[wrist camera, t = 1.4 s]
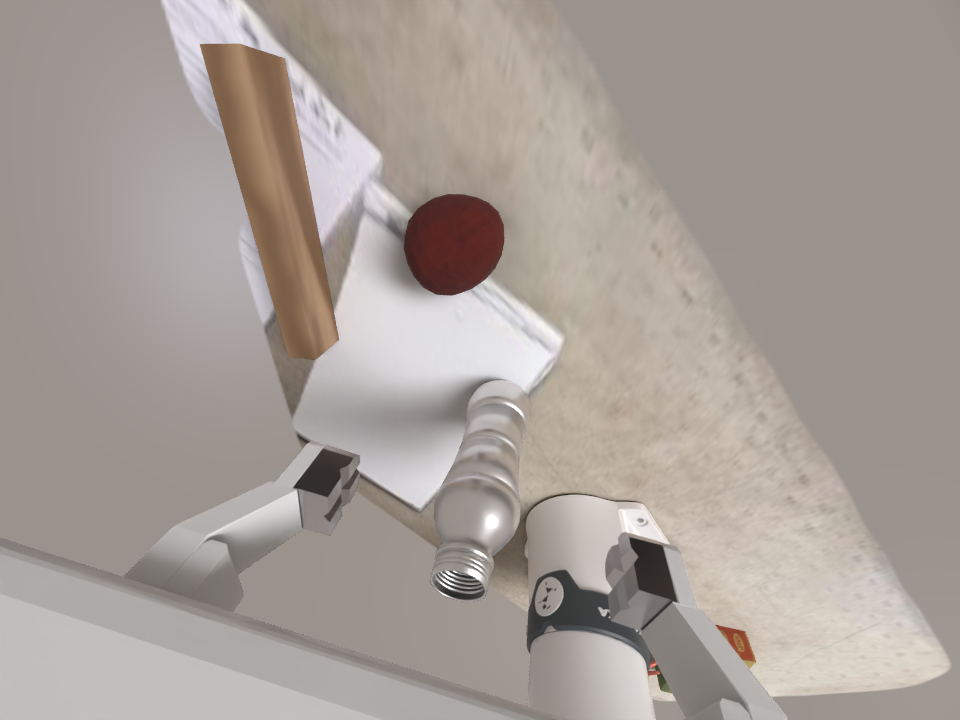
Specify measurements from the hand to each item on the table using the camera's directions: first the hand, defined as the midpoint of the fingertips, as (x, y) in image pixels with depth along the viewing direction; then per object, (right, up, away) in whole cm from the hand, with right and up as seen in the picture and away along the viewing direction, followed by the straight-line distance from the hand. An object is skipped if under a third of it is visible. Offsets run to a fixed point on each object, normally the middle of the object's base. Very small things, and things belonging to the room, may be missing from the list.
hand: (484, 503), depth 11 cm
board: (-17, +17, +23) cm, 33 cm away
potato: (-2, +15, +21) cm, 26 cm away
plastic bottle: (+2, 0, +28) cm, 28 cm away
